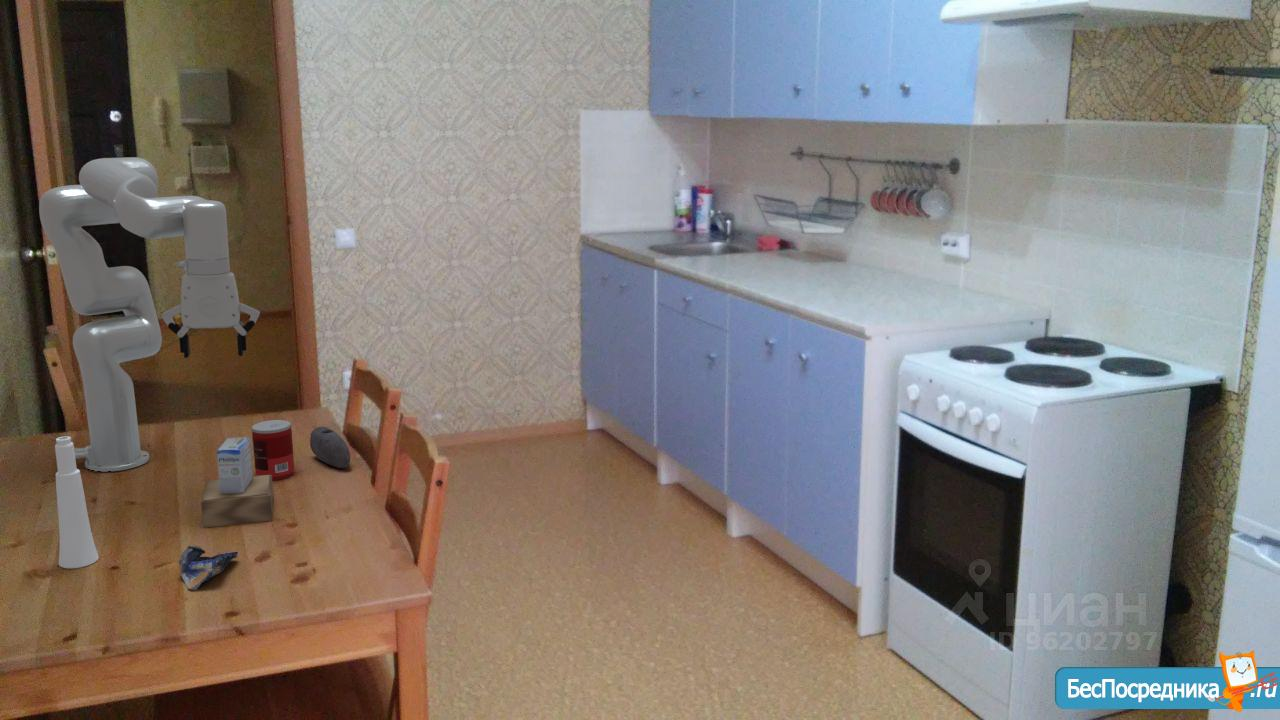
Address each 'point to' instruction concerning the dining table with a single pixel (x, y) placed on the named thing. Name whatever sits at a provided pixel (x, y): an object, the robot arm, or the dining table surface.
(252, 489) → the block
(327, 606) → the dining table surface
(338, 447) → the perforated stone tool
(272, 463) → the canned food
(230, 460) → the medicine box
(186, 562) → the snack package
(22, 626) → the dining table surface
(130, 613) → the dining table surface
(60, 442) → the cosmetic bottle
